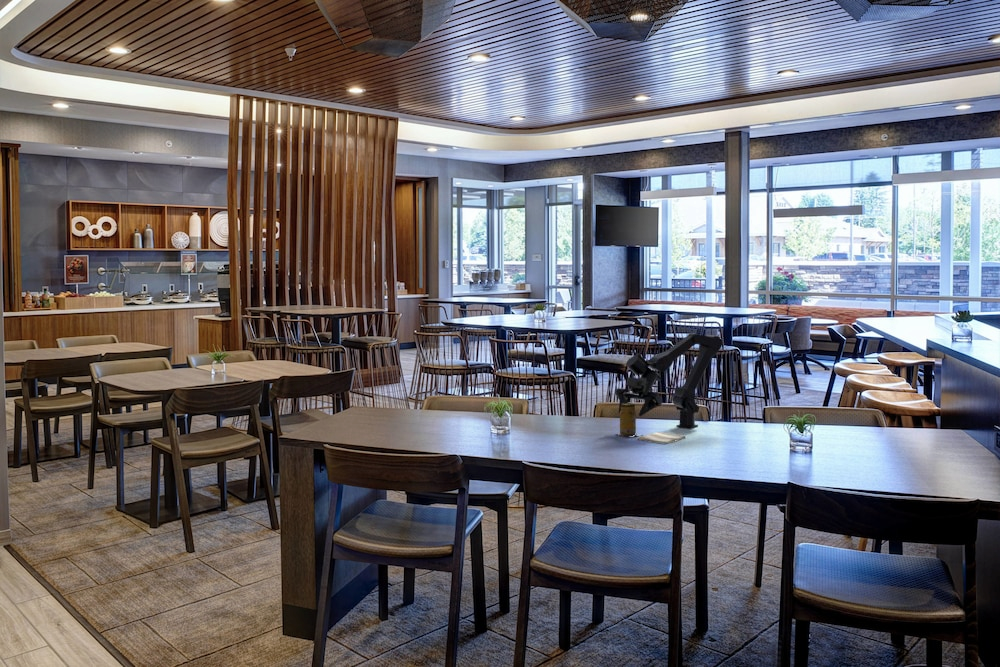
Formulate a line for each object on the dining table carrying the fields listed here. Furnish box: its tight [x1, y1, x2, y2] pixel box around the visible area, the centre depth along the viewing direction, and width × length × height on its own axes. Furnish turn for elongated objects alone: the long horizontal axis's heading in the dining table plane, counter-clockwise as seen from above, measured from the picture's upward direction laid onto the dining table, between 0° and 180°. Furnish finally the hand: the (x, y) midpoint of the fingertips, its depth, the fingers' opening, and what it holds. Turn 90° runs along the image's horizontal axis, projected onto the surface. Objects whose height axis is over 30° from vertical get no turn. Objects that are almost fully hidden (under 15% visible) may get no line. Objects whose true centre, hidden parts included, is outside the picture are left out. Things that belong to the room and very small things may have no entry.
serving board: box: [636, 431, 686, 445], centre depth 297 cm, size 14×12×1 cm
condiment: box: [619, 402, 637, 439], centre depth 304 cm, size 7×8×12 cm
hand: (629, 414), depth 304 cm, fingers open, 9 cm apart
